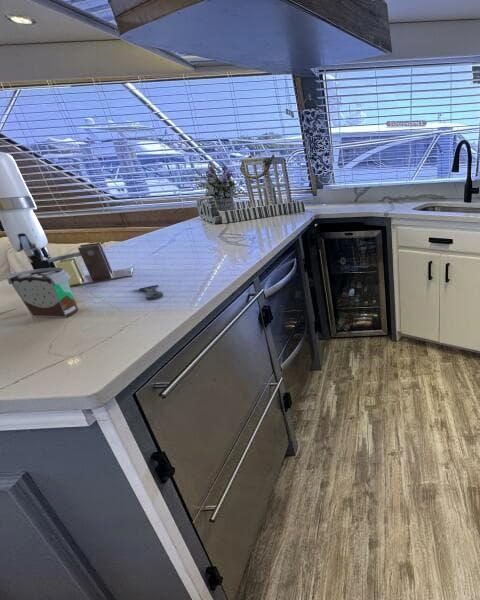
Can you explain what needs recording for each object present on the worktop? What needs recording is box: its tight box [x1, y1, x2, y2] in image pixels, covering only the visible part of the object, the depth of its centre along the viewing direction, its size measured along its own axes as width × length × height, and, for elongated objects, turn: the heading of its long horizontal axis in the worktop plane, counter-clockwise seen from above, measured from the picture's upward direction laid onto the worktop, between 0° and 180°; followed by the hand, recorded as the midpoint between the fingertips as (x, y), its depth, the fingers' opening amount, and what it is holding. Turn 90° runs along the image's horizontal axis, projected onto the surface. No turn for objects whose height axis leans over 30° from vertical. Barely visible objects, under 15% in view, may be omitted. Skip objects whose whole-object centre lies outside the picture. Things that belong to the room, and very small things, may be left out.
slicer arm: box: [45, 251, 82, 264], centre depth 90 cm, size 14×3×3 cm, turn 126°
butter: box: [55, 257, 86, 285], centre depth 92 cm, size 3×8×6 cm, turn 36°
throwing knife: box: [138, 284, 164, 300], centre depth 87 cm, size 4×20×1 cm, turn 44°
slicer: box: [69, 242, 134, 289], centre depth 94 cm, size 14×10×11 cm
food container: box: [6, 267, 79, 319], centre depth 74 cm, size 12×6×10 cm, turn 82°
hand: (47, 272), depth 89 cm, fingers closed on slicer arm, 3 cm apart
